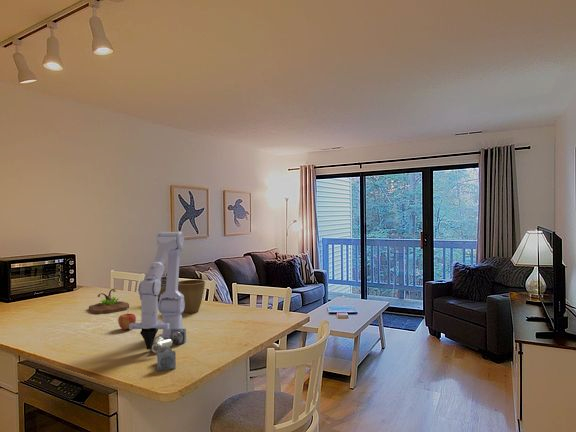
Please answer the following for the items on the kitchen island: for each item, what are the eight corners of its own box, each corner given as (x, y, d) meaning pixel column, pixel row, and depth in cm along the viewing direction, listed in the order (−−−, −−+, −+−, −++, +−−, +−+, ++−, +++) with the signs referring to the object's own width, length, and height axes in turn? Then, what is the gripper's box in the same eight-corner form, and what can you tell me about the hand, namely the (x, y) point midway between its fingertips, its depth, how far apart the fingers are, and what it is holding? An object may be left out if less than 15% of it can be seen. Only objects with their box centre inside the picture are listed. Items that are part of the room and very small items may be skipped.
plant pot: (203, 307, 209) (203, 278, 209) (206, 313, 195) (206, 283, 195) (175, 309, 204) (175, 280, 205) (176, 316, 190) (176, 284, 190)
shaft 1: (156, 362, 128) (156, 347, 128) (173, 360, 130) (173, 345, 131) (157, 371, 121) (157, 355, 121) (175, 368, 123) (175, 352, 123)
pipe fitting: (172, 346, 146) (154, 346, 144) (173, 336, 146) (155, 336, 145) (170, 353, 138) (151, 353, 137) (171, 343, 138) (152, 343, 137)
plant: (133, 310, 204) (133, 289, 204) (93, 316, 192) (93, 294, 192) (123, 304, 219) (123, 284, 220) (86, 309, 208) (86, 288, 208)
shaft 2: (172, 341, 150) (172, 328, 150) (186, 341, 150) (186, 328, 150) (168, 344, 146) (168, 331, 146) (182, 345, 146) (182, 331, 146)
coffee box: (156, 304, 217) (156, 276, 217) (162, 302, 223) (162, 275, 223) (169, 305, 214) (169, 277, 214) (176, 303, 220) (176, 275, 220)
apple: (116, 332, 163) (116, 314, 163) (119, 327, 170) (119, 310, 170) (134, 331, 165) (134, 312, 165) (136, 326, 172) (136, 309, 172)
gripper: (125, 314, 136) (125, 352, 135) (164, 314, 135) (164, 352, 135) (134, 309, 143) (134, 345, 142) (171, 310, 142) (171, 345, 142)
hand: (149, 348), depth 139 cm, fingers closed
